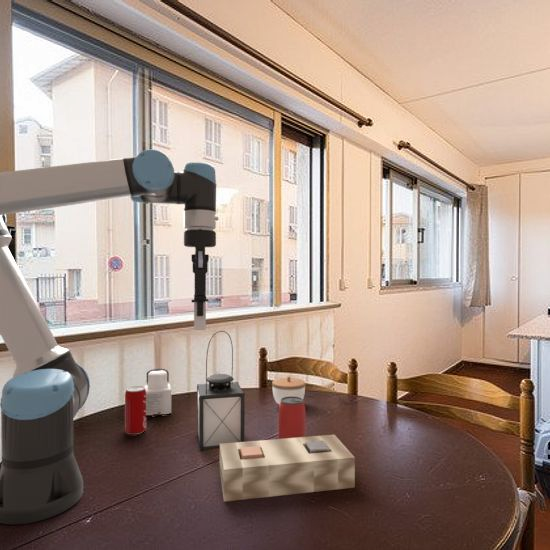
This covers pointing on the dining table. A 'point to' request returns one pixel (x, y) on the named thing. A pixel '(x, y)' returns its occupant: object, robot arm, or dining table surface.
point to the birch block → (285, 468)
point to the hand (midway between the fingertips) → (199, 329)
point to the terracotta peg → (250, 452)
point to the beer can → (291, 417)
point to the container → (158, 392)
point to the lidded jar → (288, 388)
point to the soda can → (135, 410)
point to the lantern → (219, 410)
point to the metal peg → (316, 447)
